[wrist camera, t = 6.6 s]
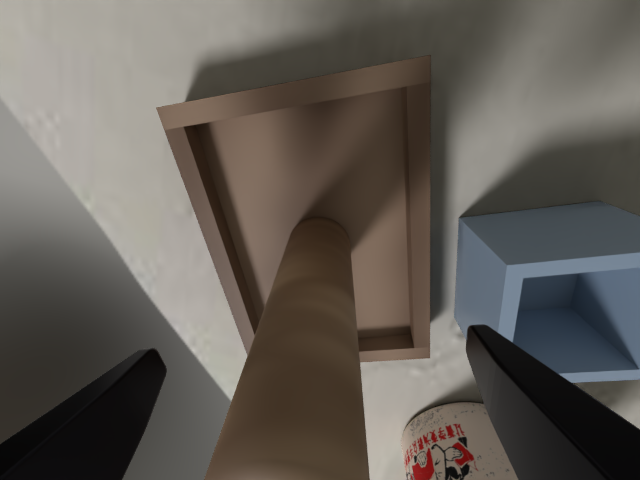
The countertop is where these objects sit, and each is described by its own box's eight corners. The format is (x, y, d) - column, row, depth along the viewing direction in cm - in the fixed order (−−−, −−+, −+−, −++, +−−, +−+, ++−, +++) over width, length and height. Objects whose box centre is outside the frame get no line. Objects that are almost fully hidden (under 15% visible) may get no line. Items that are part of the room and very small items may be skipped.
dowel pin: (346, 213, 13) (363, 456, 4) (353, 268, 14) (377, 544, 5) (282, 221, 14) (174, 461, 5) (295, 274, 15) (229, 543, 6)
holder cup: (600, 200, 13) (715, 245, 9) (571, 307, 16) (651, 379, 12) (458, 217, 14) (507, 265, 10) (454, 316, 17) (490, 386, 13)
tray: (416, 62, 11) (430, 54, 10) (420, 331, 17) (429, 358, 15) (182, 106, 13) (156, 107, 11) (261, 342, 18) (252, 368, 17)
